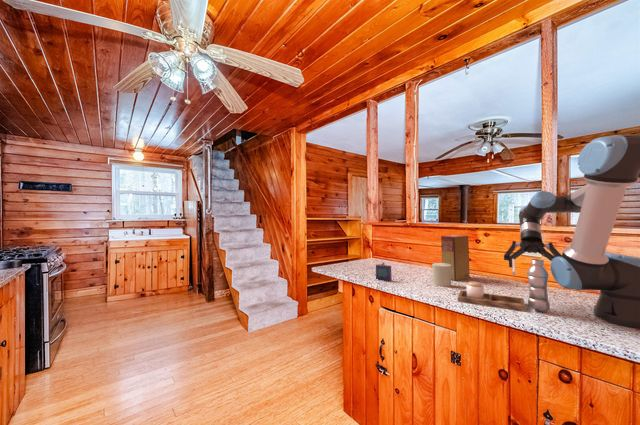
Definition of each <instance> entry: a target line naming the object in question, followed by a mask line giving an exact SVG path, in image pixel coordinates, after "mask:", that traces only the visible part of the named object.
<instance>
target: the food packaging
mask: <svg viewBox="0 0 640 425" xmlns="http://www.w3.org/2000/svg"><path fill="white" fill-rule="evenodd" d="M440 237H441V238H440V239H441V241H440V242H441V245H440V246H441V263H447V264H450V265H451V281H454V282H457V281H463V280H468V279H470V278H471V277H470V276H471V275H470V250H469V248H470V247H469V235H466V234H465V235H462V234H450V235H441V236H440Z"/></svg>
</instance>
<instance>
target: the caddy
mask: <svg viewBox="0 0 640 425" xmlns="http://www.w3.org/2000/svg"><path fill="white" fill-rule="evenodd" d="M457 302H458V303H466V304H472V305H479V306H486V307H492V308H496V309H497V308H498V309H505V310H510V311H511V310H513V311H517V312H527V311H526V310H527V309H526V303H525V299H524V298H523V297H516V296H509V295H500V294H493V293H486V292H484V300H482V299H475V298H468V297H467V290H462V289H461V290H460V292H459V294H458V295H457Z"/></svg>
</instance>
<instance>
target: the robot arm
mask: <svg viewBox="0 0 640 425" xmlns="http://www.w3.org/2000/svg"><path fill="white" fill-rule="evenodd" d="M577 165H578V169H579V171H580V172H581V173H582V174H583V179H584V180H585V181H586V182H587V184H585V185H583V186H581V187H580V188H578V189H576V190H575V191H573V192H571V193H570V194H567V195H555V194H554V193H552V192H551V191H547V190H539V191H537V192H535V194H534V195H533V196H532V197H531V198H530V200H529V201H528V204H527V205H525V206H523V207H521V208H520V209H519V211H518V219H519V220H518V222H519V236H520V242H517V241H515V240H513V241H512V243H511V246H510V247H509V248H508V250H507V251H506V252H505V253H504V255H503V260H504V261H507V262H508V267H509V268H511V270H512V276H515V275H516V266H515V260H516V259H517V258H519V257H520V256H521V255H523V254H525V253H529V254H531V253H533V254H540V255H541V256H544V258H546V259H548V260H549V261H550V265H549V266H550V271H551V272H550V273H551V275H552V277H553V279H554V281H555V282H556V283H557V284H558V285H559V286H560V287H562V288H563V289H566V290H573V291H574V290H575V291H599V293H600V294H599V297H598V298H597V301H596V303H595V305H594V306H593V315H594V316H595V317H597V319H601V320H603V321H606V322H608V323H612V324H614V325H615V324H616V325H619V326H623V327H629V328H630V327H631V328H638V329H640V257H638V256H635V255H634V256H633V255H632V256H631V255H626V254H618V253H610V252H606V249H607V247H608V243H609V241H610V238H611V235H612V232H613V229H614V226H615V223H616V220H617V217H618V213H619V211H620V208H621V206H622V203H623V200H624V197H625V194H626V191H627V188H628V187H630V186H633V185H634V184H636V183H639V182H640V133H638V134H615V135H614V134H612V135H607V136H601V137H597V138H594V139H592V140H591V141H590V142H589V143H587V144H586V145H585V146H584V147H582V149H581V151H580V153H579V156H578V159H577ZM552 213H553V214H554V213H555V214H556V213H557V214H558V213H559V214H560V213H564V214H565V213H573V214H574V213H576V214H578V213H579V215H578V219H577V221H576V226H575V229H574V233H573V235H572V239H571V243H570V246H567V247H565V248H564V249H562V250H563V251H562V253H560V252H559V251H558V250H557V249H556V247H555V246H554V244H553V242H548V243H544V242H543V235H542V226H541V220H543V218H544V216H546V215H547V214H552ZM519 247H520V248H519ZM517 248H519V249H517ZM516 249H517V250H516ZM546 249H547V250H546ZM515 250H516V251H515ZM514 251H515V252H514ZM513 252H514V253H513Z"/></svg>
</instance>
